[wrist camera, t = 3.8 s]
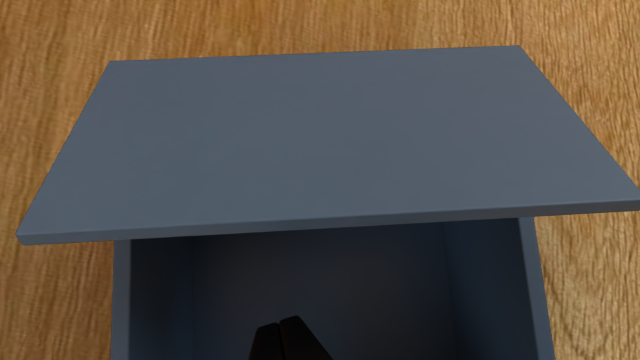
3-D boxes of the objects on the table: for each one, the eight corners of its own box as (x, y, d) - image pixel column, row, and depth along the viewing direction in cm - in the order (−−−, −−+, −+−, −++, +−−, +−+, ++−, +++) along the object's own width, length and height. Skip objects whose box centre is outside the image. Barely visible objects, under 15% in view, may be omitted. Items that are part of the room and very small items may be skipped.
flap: (113, 71, 13) (109, 60, 13) (515, 55, 13) (519, 44, 13) (22, 246, 8) (13, 234, 8) (640, 211, 9) (649, 199, 9)
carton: (184, 143, 21) (118, 73, 13) (438, 131, 21) (509, 57, 14) (184, 449, 18) (102, 572, 11) (473, 427, 19) (582, 528, 11)
